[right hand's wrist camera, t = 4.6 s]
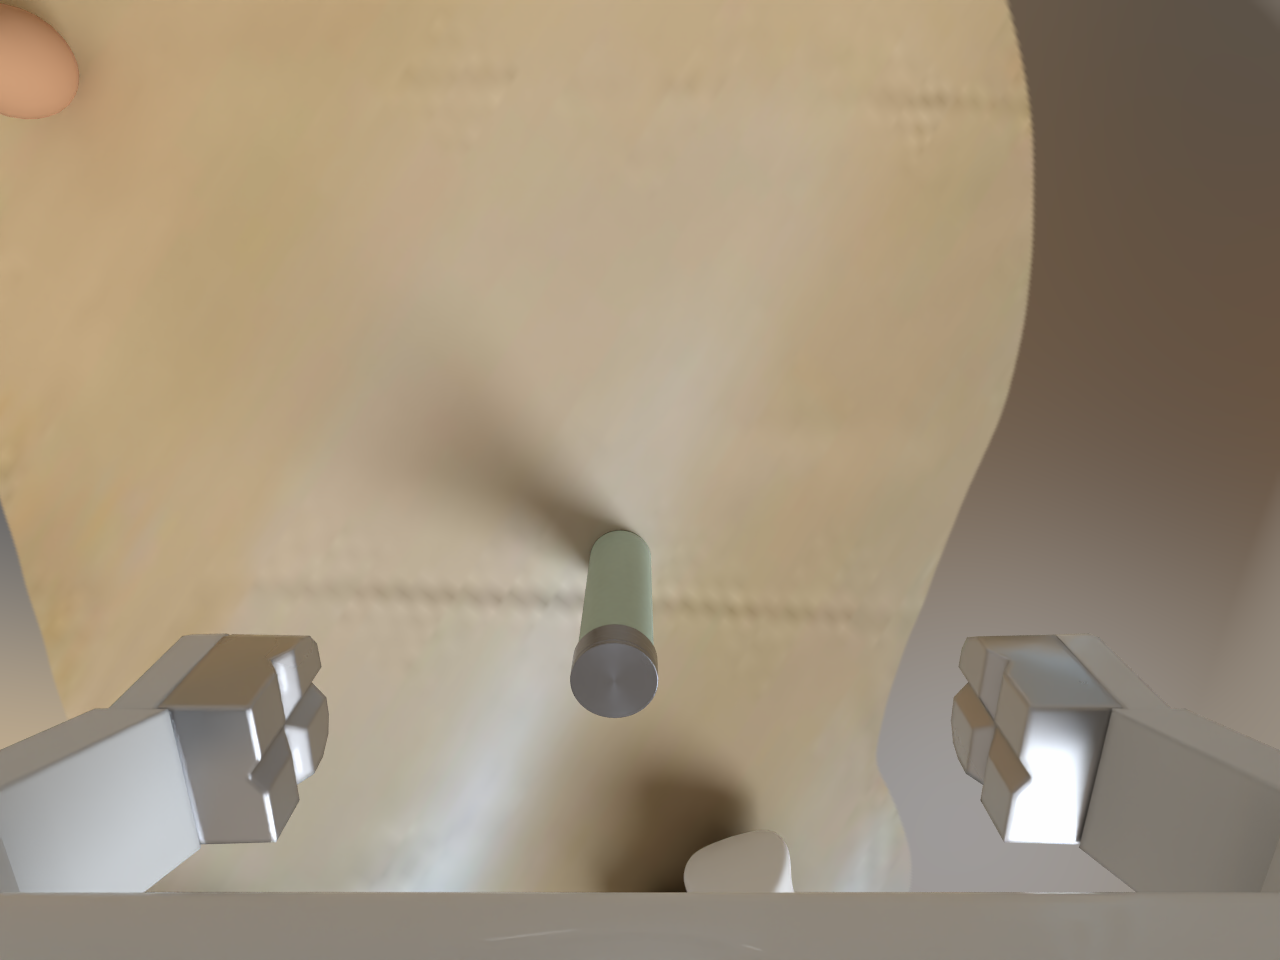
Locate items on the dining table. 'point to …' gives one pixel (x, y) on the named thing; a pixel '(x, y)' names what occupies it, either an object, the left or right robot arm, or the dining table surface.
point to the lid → (614, 671)
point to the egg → (33, 66)
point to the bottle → (619, 584)
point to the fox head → (741, 865)
